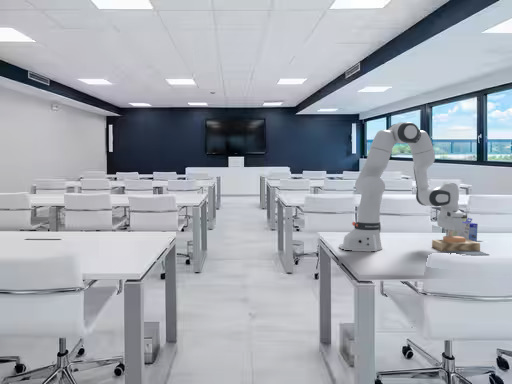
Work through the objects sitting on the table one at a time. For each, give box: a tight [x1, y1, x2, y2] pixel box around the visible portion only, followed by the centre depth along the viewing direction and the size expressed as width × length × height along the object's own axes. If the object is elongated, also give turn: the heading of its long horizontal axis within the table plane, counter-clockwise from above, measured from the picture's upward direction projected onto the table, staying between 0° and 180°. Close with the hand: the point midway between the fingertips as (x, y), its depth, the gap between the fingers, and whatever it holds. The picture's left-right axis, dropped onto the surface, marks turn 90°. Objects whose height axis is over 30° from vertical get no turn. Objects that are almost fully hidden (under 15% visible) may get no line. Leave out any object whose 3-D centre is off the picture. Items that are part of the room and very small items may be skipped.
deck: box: [431, 239, 481, 252], centre depth 221 cm, size 20×11×4 cm, turn 92°
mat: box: [443, 250, 490, 256], centre depth 210 cm, size 18×10×1 cm, turn 92°
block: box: [442, 235, 466, 242], centre depth 222 cm, size 9×6×2 cm, turn 92°
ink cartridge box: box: [457, 217, 479, 242], centre depth 233 cm, size 10×6×14 cm, turn 11°
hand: (448, 237), depth 228 cm, fingers closed
